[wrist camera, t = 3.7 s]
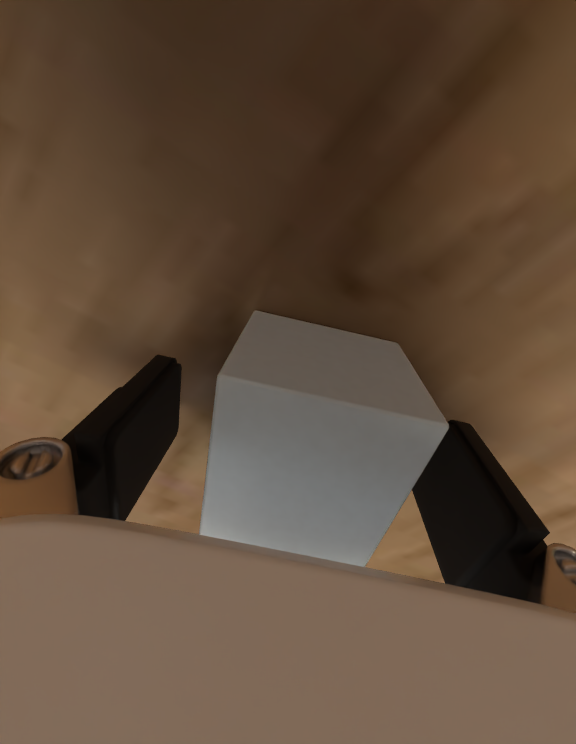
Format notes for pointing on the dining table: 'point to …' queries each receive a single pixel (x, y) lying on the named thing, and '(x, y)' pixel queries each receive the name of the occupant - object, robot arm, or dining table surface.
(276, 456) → the carton
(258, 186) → the dining table surface
